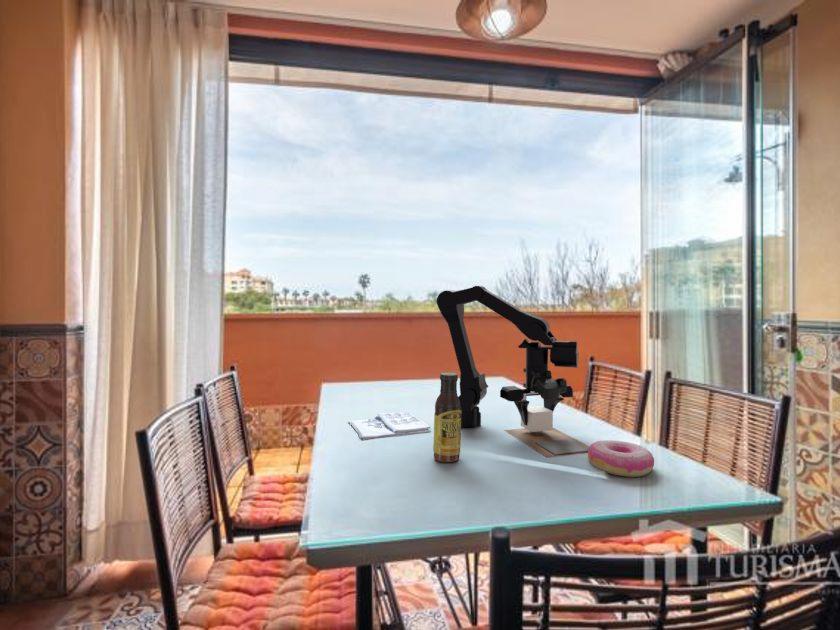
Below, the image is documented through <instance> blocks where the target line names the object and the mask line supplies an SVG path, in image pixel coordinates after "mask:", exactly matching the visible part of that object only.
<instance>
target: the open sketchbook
mask: <svg viewBox="0 0 840 630" xmlns="http://www.w3.org/2000/svg"><path fill="white" fill-rule="evenodd" d="M347 423H348V424H349V423H350V424H351V425H352V426H351V425H350V424H349V425H350V426H351V427H352V428H353V429H354V430H355V433H357V434H358V437H359V439H360V440H362V439H365V440H371V438H372V439H379V438H389V437H397V435H399V436H407V434H408V435H415V434H417V435H418V434H427V433H431V430H430V429H431V425H428V424H427V423H426V422H424V421H422V420H421V419H419V418H417V417H416V416H415V415H413V414H411V413H410V412H407V411H406V412H405V411H404V412H391V413H387V412H386V413H377V415H376V416H375V417H374V418H369V419H359V420H351V419H350V420H348V421H347ZM381 424H384V425H383V426H386V427H387V428H389V429H387V428H386V427H383V426H381ZM380 426H381V427H380ZM382 427H383V428H382Z"/></svg>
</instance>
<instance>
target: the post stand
mask: <svg viewBox="0 0 840 630" xmlns="http://www.w3.org/2000/svg"><path fill="white" fill-rule="evenodd" d="M503 431H505V432H506V433H507V434H509V435H511V436H512V437H514V438H515V439H517V440H518V441H520V442H521V443H523V444H524V445H526V446H528V447H529V448H531V449H532V450H534V451H536V452H538V454H541V455H542V456H543V457H545V458H554V457H555V458H556V457H564V456H572V455H582V454H588V449H589V447H590V446H591V445H588V444H586V443H584V442H582V441H580V440H578V439H576V438H574V437H572V436H570V435H569V434H566V433H565V432H563V431H561V430H559V429H557V428H554V427H553V430H548V431H538V432H531V431H529V430H527V429H526V428H524V427H523V428H515V429H514V428H513V429H512V428H511V429H504V430H503Z"/></svg>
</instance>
